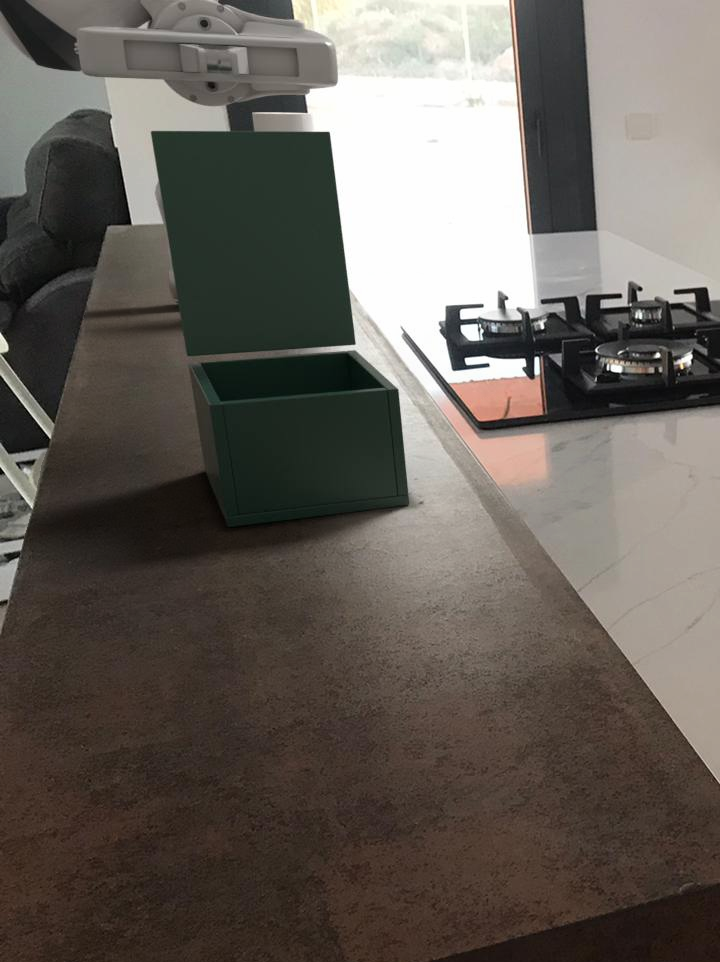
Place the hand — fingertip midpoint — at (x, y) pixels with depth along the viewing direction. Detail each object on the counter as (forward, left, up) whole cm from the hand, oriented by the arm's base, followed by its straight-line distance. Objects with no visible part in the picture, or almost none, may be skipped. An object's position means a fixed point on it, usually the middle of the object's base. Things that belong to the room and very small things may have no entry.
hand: (218, 62), depth 104 cm
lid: (+10, -6, -13) cm, 18 cm away
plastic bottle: (-63, +35, -31) cm, 78 cm away
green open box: (+18, -9, -30) cm, 36 cm away
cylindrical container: (-48, +41, -31) cm, 70 cm away
